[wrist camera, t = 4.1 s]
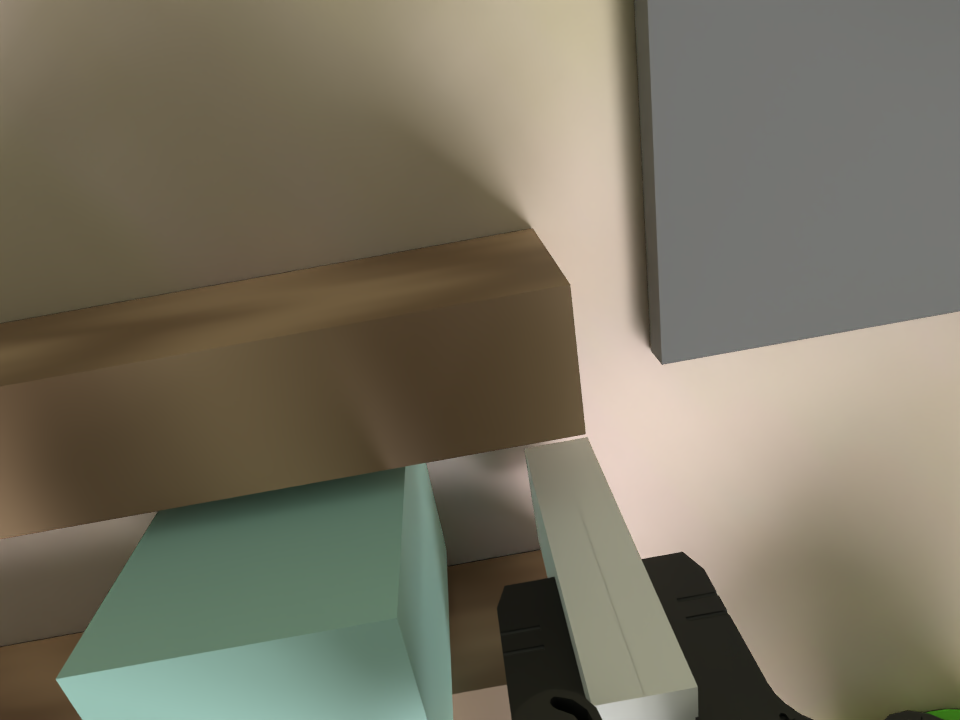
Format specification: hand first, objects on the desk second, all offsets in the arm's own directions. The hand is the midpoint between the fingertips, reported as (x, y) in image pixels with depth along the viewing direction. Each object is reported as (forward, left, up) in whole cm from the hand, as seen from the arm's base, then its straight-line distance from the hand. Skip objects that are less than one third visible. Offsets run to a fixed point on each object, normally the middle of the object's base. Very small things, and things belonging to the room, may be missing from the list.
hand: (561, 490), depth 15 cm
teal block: (-6, 0, -2) cm, 6 cm away
